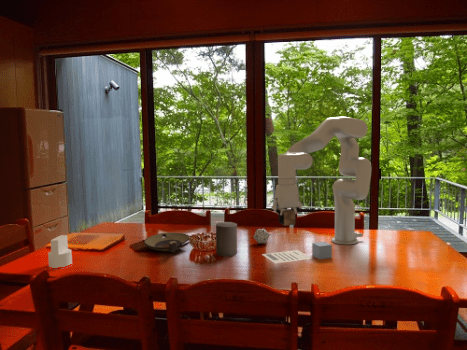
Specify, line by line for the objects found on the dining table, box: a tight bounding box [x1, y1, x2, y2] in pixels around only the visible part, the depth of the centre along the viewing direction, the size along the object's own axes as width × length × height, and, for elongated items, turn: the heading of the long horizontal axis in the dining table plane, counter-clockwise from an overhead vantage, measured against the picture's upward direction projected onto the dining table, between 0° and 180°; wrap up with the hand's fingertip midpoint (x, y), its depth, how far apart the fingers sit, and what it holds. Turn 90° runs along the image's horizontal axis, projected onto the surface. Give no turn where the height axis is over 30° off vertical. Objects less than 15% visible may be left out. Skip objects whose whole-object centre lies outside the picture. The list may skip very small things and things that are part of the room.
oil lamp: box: [143, 232, 191, 253], centre depth 182 cm, size 22×30×8 cm
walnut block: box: [281, 208, 296, 226], centre depth 168 cm, size 5×5×6 cm
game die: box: [251, 227, 272, 246], centre depth 190 cm, size 9×8×10 cm
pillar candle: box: [215, 221, 238, 257], centre depth 175 cm, size 10×10×15 cm
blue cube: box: [311, 241, 333, 260], centre depth 167 cm, size 6×6×6 cm
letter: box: [261, 249, 313, 265], centre depth 169 cm, size 18×14×1 cm
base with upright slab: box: [47, 234, 73, 268], centre depth 162 cm, size 9×9×12 cm
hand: (287, 222), depth 168 cm, fingers closed on walnut block, 5 cm apart
